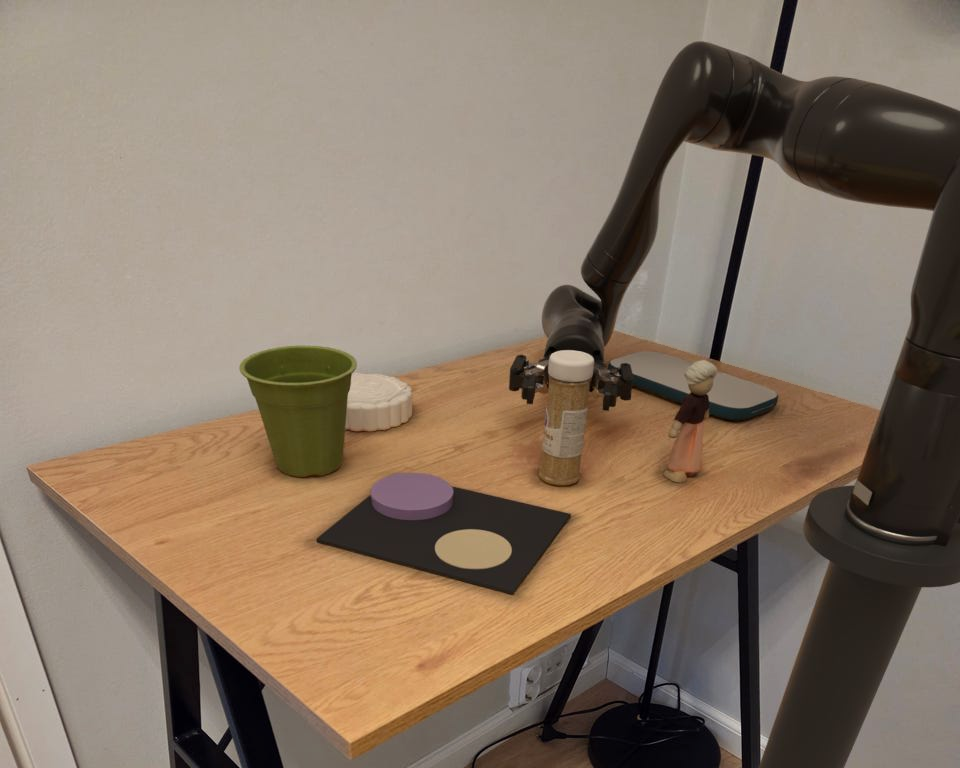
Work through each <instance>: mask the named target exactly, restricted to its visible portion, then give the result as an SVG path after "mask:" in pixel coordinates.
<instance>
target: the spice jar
mask: <svg viewBox="0 0 960 768" xmlns="http://www.w3.org/2000/svg"><path fill="white" fill-rule="evenodd" d="M593 369H594V358H593V357H592V356H591V355H589V354H587V353H584V352H581V351H574V350H562V351H557V352H554V353H552V354H551V355H550V358H549V366H548V374H549V388H548V393H547V399H546V406H545V416H544V417H545V418H544V425H543V436H542V444H541V449H542V451H541V462H540V469H539V471H538V476H539V479H540V480H542V481H543V482H544V483H546V484H549V485H553V486H570V485H573V484H576V483H577V482H579V479H580V477H581V475H580V466H581V459H582V458H581V457H582V453H583V448H584V440H585V433H586V424H587V418H588V408H589V405H588V404H589V396H590V395H589V387H590V381H591V377H592V376H593Z"/></svg>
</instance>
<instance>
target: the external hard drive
mask: <svg viewBox="0 0 960 768" xmlns="http://www.w3.org/2000/svg"><path fill="white" fill-rule="evenodd" d="M622 363H628V364H630V365H631V369H632V373H633V377H634V381H633V384H632V387H635V388H638V389H641V390H644V391H646V392H649V393H651V394H654V395H657V396H660V397H662V398H665V399H668V400H670V401H673V402H676V403H678V404H681V405H682V402H683V400H684V398H685V397H686V396H687V395H688V394H690V393H691V391H690V390H689V387H688V383H687V381H686V377H685V376H684V373H685V371H687V369H688V367H690V366H691V365H693V364H694V363H695V362H692V361H690V360H687V359H684V358H681V357H678V356H675V355H672V354H669V353H665V352H662V351H655V350H640V351H636V352H632V353H629V354H625V355H622V356H619V357H618V356H617V357H615V358H612V359H610V361H608V364H607V367H608V369H617V367H618V366H619V367H620V364H622ZM707 395H708V397H709V415H711V416H713V417H717V418H721V419H724V420H730V421H745V420H749V419H753V418H754V417H758V416H759V415H761V414H765V413H767V412H770V411H772V410H774V409H775V408H776V406H777V405H778V404H777V403H778V401H779V393H778V392H777V391H775V390H774V389H772V388H770V387H768V386H765V385H763V384H760V383H756V382H754V381H750V380H747V379H744V378H741V377H739V376H736V375H733V374H730V373H726V372H723V371H720V370H717V375H716V376H715V378H713V386H712V389H711V390H710V391H709V392H708V393H707Z"/></svg>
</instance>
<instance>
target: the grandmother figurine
mask: <svg viewBox="0 0 960 768" xmlns="http://www.w3.org/2000/svg"><path fill="white" fill-rule="evenodd" d="M693 363H694V364H693V365H691V366H690V367H688V369H687V371H685V373H684V376H685V377H686V381H687V383H688V387H689V390H690V391H691V393H690V394H688V395H687V396H686V397H685V398H684V400H683V402H682V404H681V405H680V407H679V409H678V411H677V413H676V415H675V416H674V419H673V422H672V424H671V428H670V429H669V431H668V432H667V436H668V438H670V439H674V442H673V445H672V448H671V451H670V456H669V459H668V464H667V468H668V469H666V470H665V471H664V472H663V476H664V477H665V478H666V479H668V480H670V481H671V482H674V483H678V484H679V483H685V482H686V481H687V480H688V477H693V476H695V475H696V474H697V473H698V472H700V471H701V469H702V464H703V463H702V462H703V450H704V427H705V426H704V421H705V420H708V419H709V417H710V414H709V397H708V395H707V393H708V392H709V391H710V390H711V389H712V386H713V378H715V376H716V375H717V371H718V367H717V366H716V365H715V364H714V363H712V362H710V361H707V360H704V359H701V360H698V361H696V362H693Z"/></svg>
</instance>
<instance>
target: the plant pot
mask: <svg viewBox="0 0 960 768" xmlns="http://www.w3.org/2000/svg"><path fill="white" fill-rule="evenodd" d="M357 367H358V361H357V359H356V358H355V357H354V356H353V355H352V354H350V353H348V352H346V351H344V350H341V349H337V348H333V347H329V346H323V345H322V346H321V345H286V346H279V347H272V348H268V349H265V350H261V351H258V352H255V353H252V354H250V355H249V356H247V357H246V358H244V359H243V360H241V362H240V364H239V372H240V374H241V375H242V376H243V377H244V378H246V380H247V383H248V385H249V386H248V387H249V389H250V392H251V394H252V396H253V397H254V398H255V402H256V405H257V407H258V411H259V414H260V418H261V420H262V424H263V427H264V431H265V434H266V437H267V440H268V443H269V446H270V449H271V454H272V456H273V459H274V463H275V465H276V467H277V469H278V470H279V471H281V472H282V473H284V474H285V475H289V476H292V477H297V478H306V477H308V476H311V475H317V476H325V475H328V474H330V473H333V472H334V471H337V469H339V468H340V467H341V465H342V464H343V457H344V445H345V435H346V430H345V423H346V412H347V400H348V392H349V391H350V386H351V376H352V373H355V371H356V369H357Z"/></svg>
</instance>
